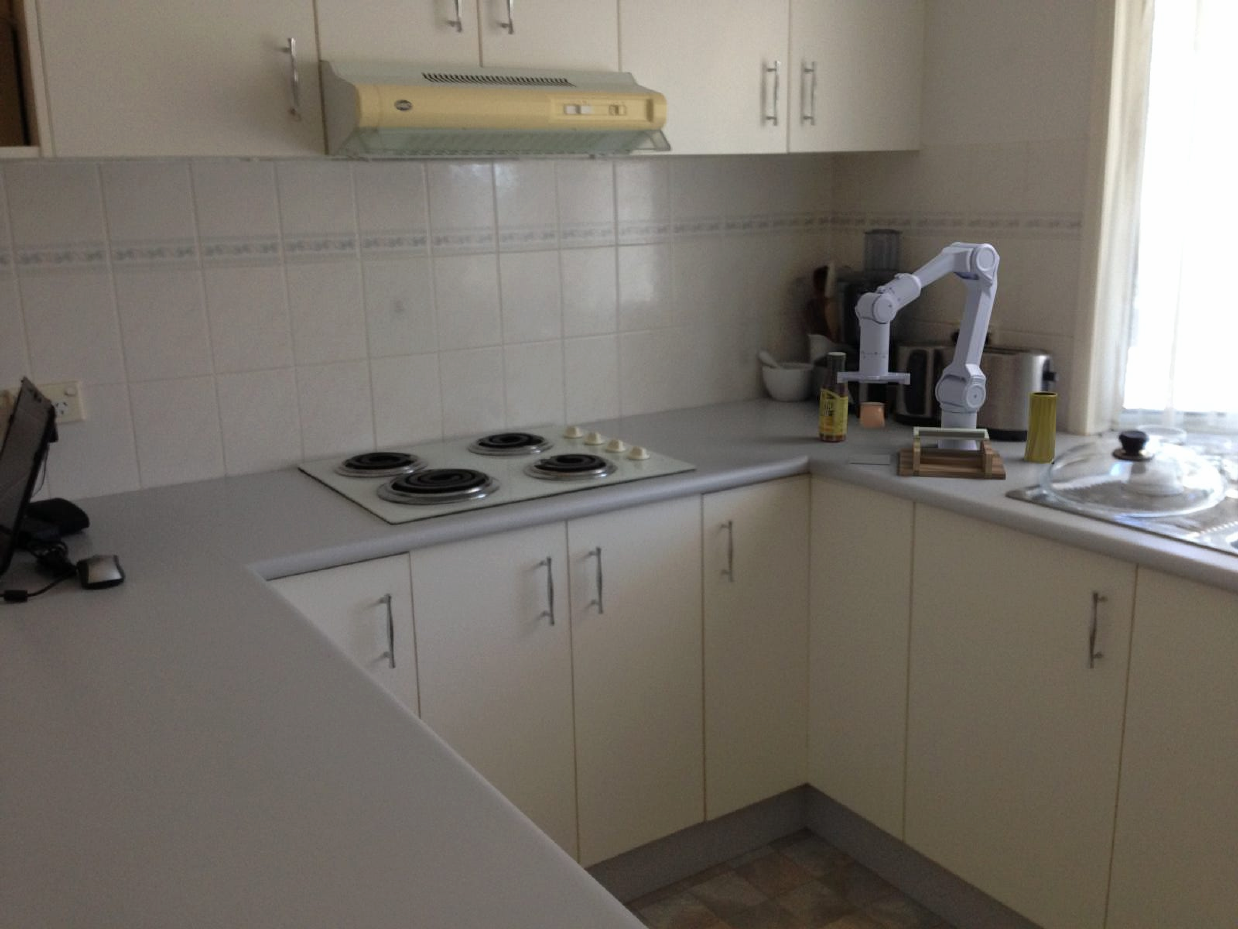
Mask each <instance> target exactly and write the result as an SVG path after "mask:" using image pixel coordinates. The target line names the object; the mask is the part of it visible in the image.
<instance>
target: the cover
mask: <svg viewBox="0 0 1238 929" xmlns="http://www.w3.org/2000/svg"><path fill="white" fill-rule="evenodd" d="M913 436H914V438H920V440H921V439H923V440H924V439H926V440H928V439H929V440H941V439H952V440H975V441H980V440H982V441H989V442H990V436H989V433H988V430H987V428H976V429H964V428H941V427H929V426H927V427H925V426H924V427H923V426H922V427H921V426H913Z"/></svg>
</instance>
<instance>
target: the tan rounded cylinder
mask: <svg viewBox="0 0 1238 929" xmlns="http://www.w3.org/2000/svg"><path fill="white" fill-rule="evenodd" d="M885 405H886V403H884V402H883V403H882V402H878V401H876V402H875V401H873V402H872V401H868V402H860V418H859V427H860V428H864V429H865V428H866V429H881V428H884V427H885V419H884V413H885Z"/></svg>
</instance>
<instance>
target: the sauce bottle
mask: <svg viewBox="0 0 1238 929" xmlns="http://www.w3.org/2000/svg"><path fill="white" fill-rule="evenodd" d="M826 360H827V369H826V373H825V376H824V379H823V382H822V384H821V387H820V399H819V413H818V414H819V416H818V417H819V418H818V437H819V439H820V440H821V441H825V442H830V443H831V442H834V443H835V442H843V441H845V440H846V437H847V436H846V434H847V429H848V428H847V426H848V425H847V424H848V411H849V410H848V409H849V407H848V406H849V390H848V387H847V386H848V382H843V383H837V374H838V372H845V365H846V364H845V362H846V360H847V355H846V353H845V352H840V351H839V352H837V351H834V352H832V351H831V352H828V353H827V357H826Z"/></svg>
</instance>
